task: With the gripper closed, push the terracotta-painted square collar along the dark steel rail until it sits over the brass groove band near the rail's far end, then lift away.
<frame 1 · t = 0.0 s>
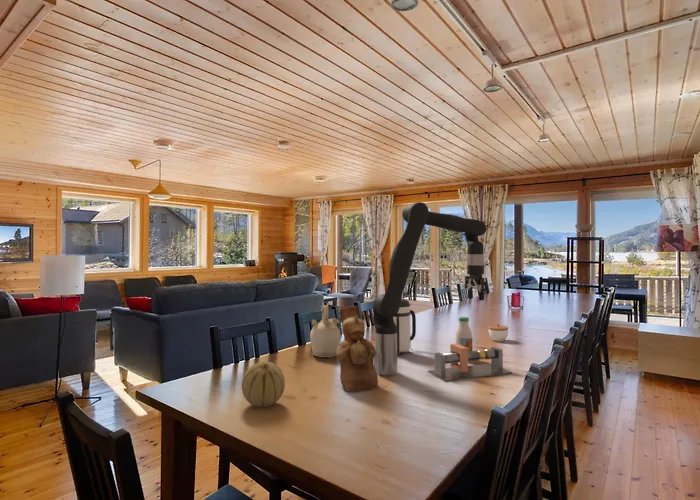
hand: (475, 299, 191), 29 cm above the table, fingers open, 8 cm apart
coffee press: (399, 352, 212), on the table
jug: (325, 355, 208), on the table
rail: (469, 372, 176), on the table
ceramic vessel: (355, 384, 164), on the table
lidded jar: (498, 340, 237), on the table
collar: (458, 357, 175), point 7 cm above the table, slide at 0.0 cm
milk bottle: (464, 359, 197), on the table
cantaloupe: (263, 405, 142), on the table
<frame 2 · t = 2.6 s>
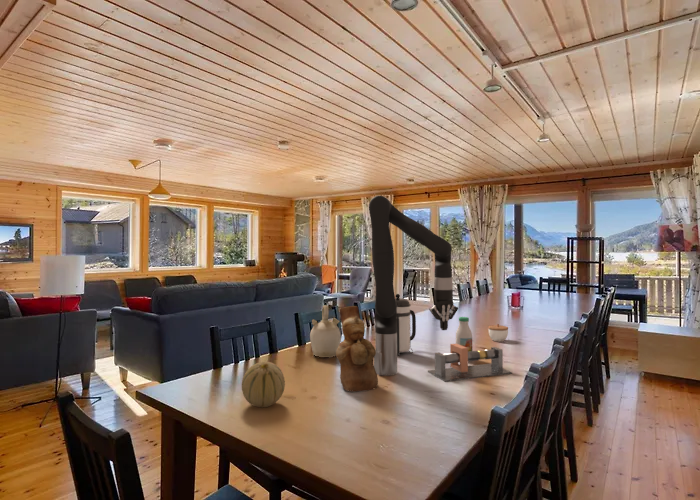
hand: (444, 329, 173), 19 cm above the table, fingers closed
nothing on the table moved.
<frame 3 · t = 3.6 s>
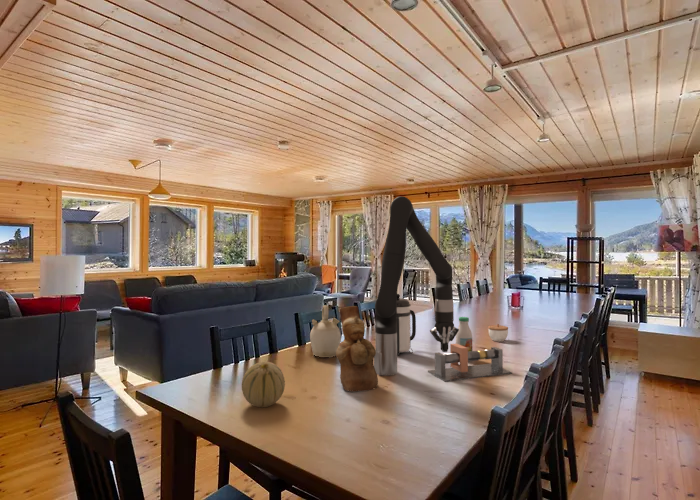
hand: (444, 351, 173), 10 cm above the table, fingers closed
nothing on the table moved.
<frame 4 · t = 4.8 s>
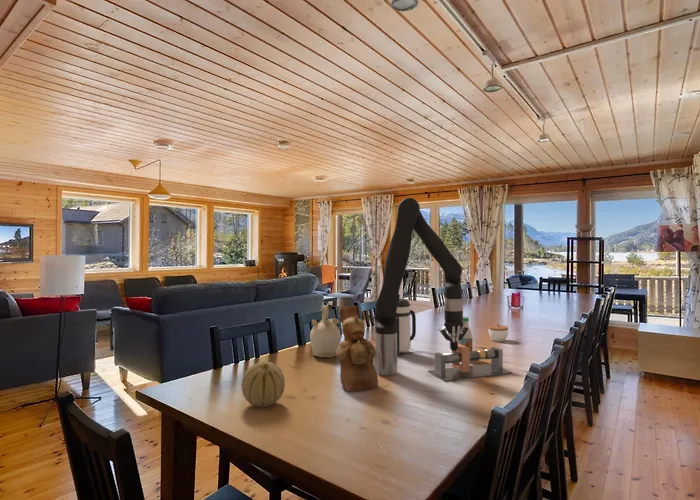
hand: (454, 350, 174), 10 cm above the table, fingers closed
collar: (460, 357, 175), point 7 cm above the table, slide at 0.7 cm, touching gripper
everything else where it was.
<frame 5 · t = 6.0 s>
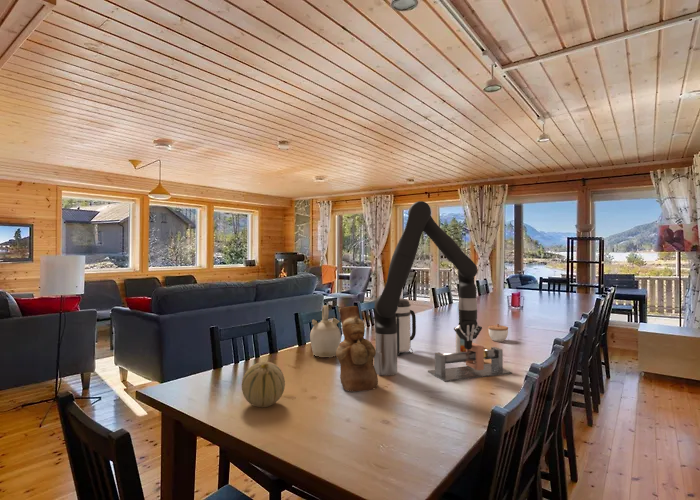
hand: (468, 349, 176), 10 cm above the table, fingers closed
collar: (474, 355, 177), point 7 cm above the table, slide at 7.7 cm, touching gripper
everything else where it was.
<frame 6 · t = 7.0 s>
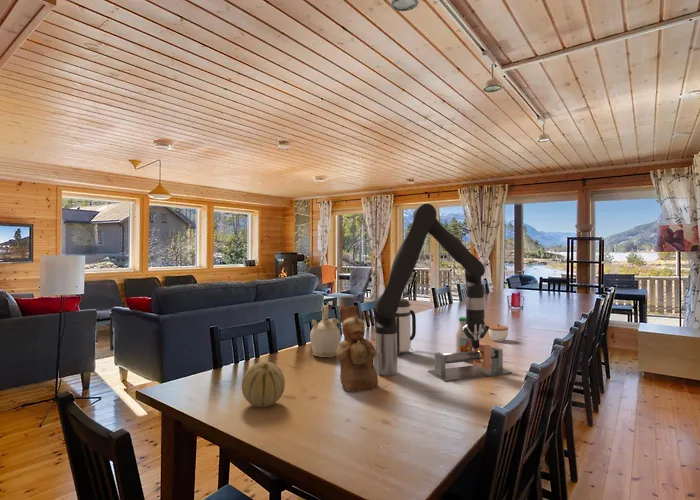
hand: (475, 348, 177), 10 cm above the table, fingers closed
collar: (481, 355, 178), point 7 cm above the table, slide at 11.3 cm, touching gripper
everything else where it was.
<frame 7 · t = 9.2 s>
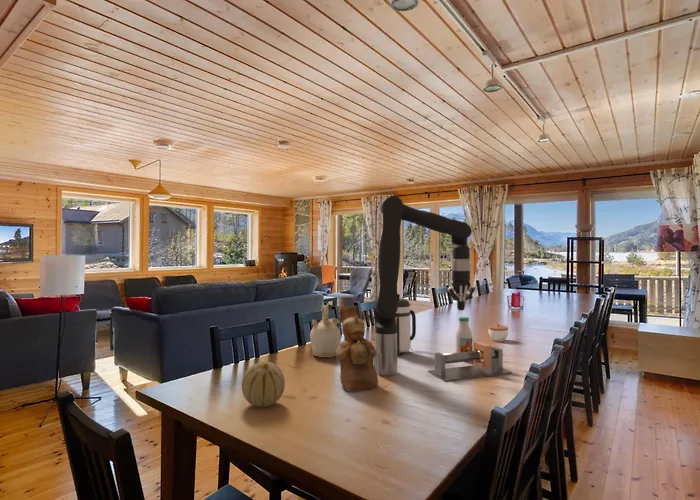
hand: (460, 309, 178), 27 cm above the table, fingers closed
collar: (482, 355, 178), point 7 cm above the table, slide at 11.5 cm
everything else where it was.
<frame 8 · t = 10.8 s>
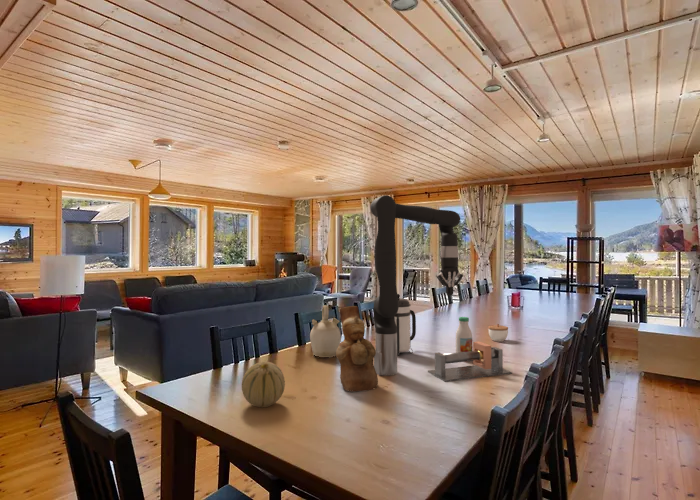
hand: (449, 295, 185), 32 cm above the table, fingers closed
nothing on the table moved.
at the end: collar slide at 11.5 cm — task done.
